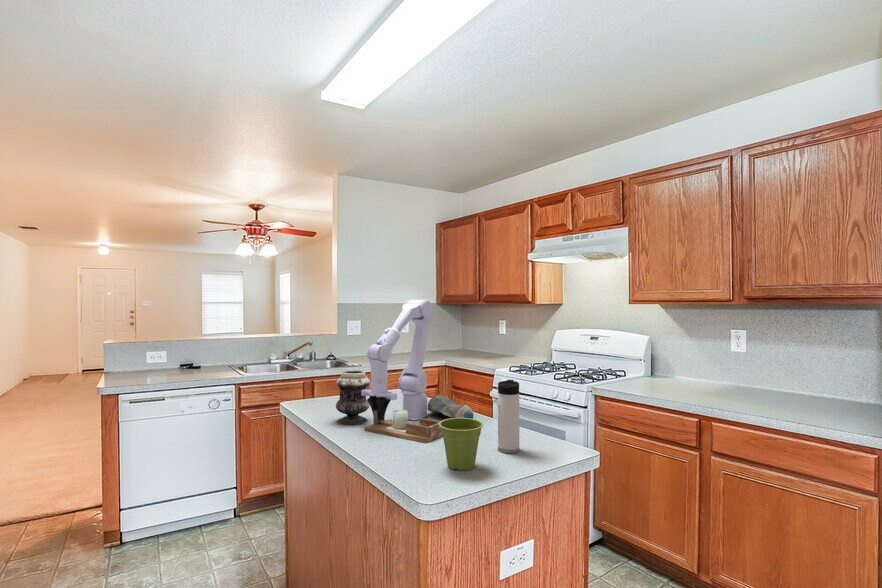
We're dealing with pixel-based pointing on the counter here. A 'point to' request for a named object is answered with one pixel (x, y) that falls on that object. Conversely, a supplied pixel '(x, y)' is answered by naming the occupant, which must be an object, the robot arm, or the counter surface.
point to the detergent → (449, 408)
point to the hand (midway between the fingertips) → (379, 418)
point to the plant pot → (461, 441)
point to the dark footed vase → (352, 396)
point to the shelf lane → (409, 430)
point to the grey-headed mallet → (398, 419)
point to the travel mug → (508, 416)
